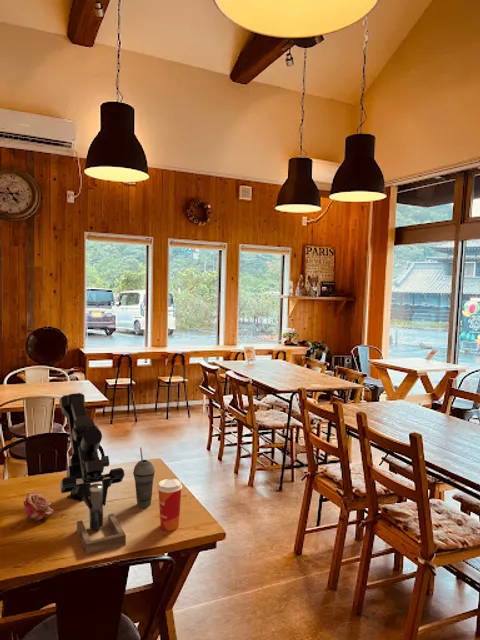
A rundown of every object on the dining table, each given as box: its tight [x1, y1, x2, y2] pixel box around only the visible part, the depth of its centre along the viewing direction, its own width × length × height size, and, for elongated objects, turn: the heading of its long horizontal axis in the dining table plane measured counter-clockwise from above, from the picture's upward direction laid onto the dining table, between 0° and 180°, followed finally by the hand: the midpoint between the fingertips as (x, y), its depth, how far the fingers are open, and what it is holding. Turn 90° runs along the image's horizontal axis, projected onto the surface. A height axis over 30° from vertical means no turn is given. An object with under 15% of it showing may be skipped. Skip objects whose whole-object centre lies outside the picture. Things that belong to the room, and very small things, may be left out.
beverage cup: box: [132, 447, 156, 509], centre depth 162 cm, size 7×7×20 cm
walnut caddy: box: [76, 513, 127, 556], centre depth 142 cm, size 14×11×3 cm
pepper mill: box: [88, 482, 104, 530], centre depth 146 cm, size 4×4×12 cm
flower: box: [23, 492, 54, 522], centre depth 153 cm, size 10×9×8 cm
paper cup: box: [157, 478, 183, 532], centre depth 148 cm, size 8×8×14 cm
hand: (97, 506), depth 145 cm, fingers closed on pepper mill, 4 cm apart
